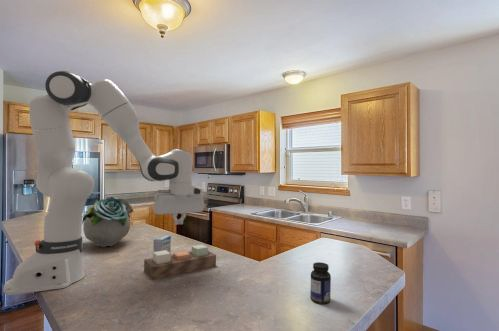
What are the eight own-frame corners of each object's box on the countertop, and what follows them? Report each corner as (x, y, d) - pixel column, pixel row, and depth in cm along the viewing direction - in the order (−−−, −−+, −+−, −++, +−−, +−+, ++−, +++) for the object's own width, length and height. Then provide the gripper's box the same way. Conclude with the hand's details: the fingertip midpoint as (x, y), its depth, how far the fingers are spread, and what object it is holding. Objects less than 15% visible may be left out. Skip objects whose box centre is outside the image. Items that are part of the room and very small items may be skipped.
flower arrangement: (141, 239, 154) (142, 195, 154) (118, 253, 129) (120, 200, 129) (96, 238, 154) (97, 194, 154) (65, 251, 129) (67, 198, 129)
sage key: (196, 260, 113) (197, 249, 113) (191, 256, 117) (191, 246, 117) (207, 258, 116) (207, 247, 116) (202, 255, 120) (202, 244, 120)
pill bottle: (326, 295, 90) (327, 261, 91) (333, 304, 84) (333, 268, 84) (308, 295, 90) (308, 261, 90) (312, 304, 84) (313, 268, 84)
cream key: (157, 267, 103) (157, 255, 103) (152, 264, 107) (153, 252, 107) (170, 265, 106) (170, 253, 106) (165, 261, 110) (165, 250, 110)
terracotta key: (177, 267, 108) (178, 256, 108) (172, 264, 112) (173, 252, 112) (189, 265, 111) (190, 254, 111) (184, 262, 115) (184, 251, 115)
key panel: (152, 279, 100) (152, 267, 100) (143, 271, 108) (144, 259, 108) (215, 266, 115) (216, 255, 115) (204, 259, 123) (204, 249, 123)
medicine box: (162, 259, 122) (162, 239, 122) (152, 258, 123) (153, 238, 123) (170, 254, 129) (171, 235, 130) (161, 253, 130) (162, 234, 130)
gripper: (157, 190, 103) (155, 228, 103) (206, 190, 116) (204, 223, 115) (151, 189, 109) (150, 225, 108) (199, 189, 121) (198, 221, 120)
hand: (178, 224), depth 112 cm, fingers closed
